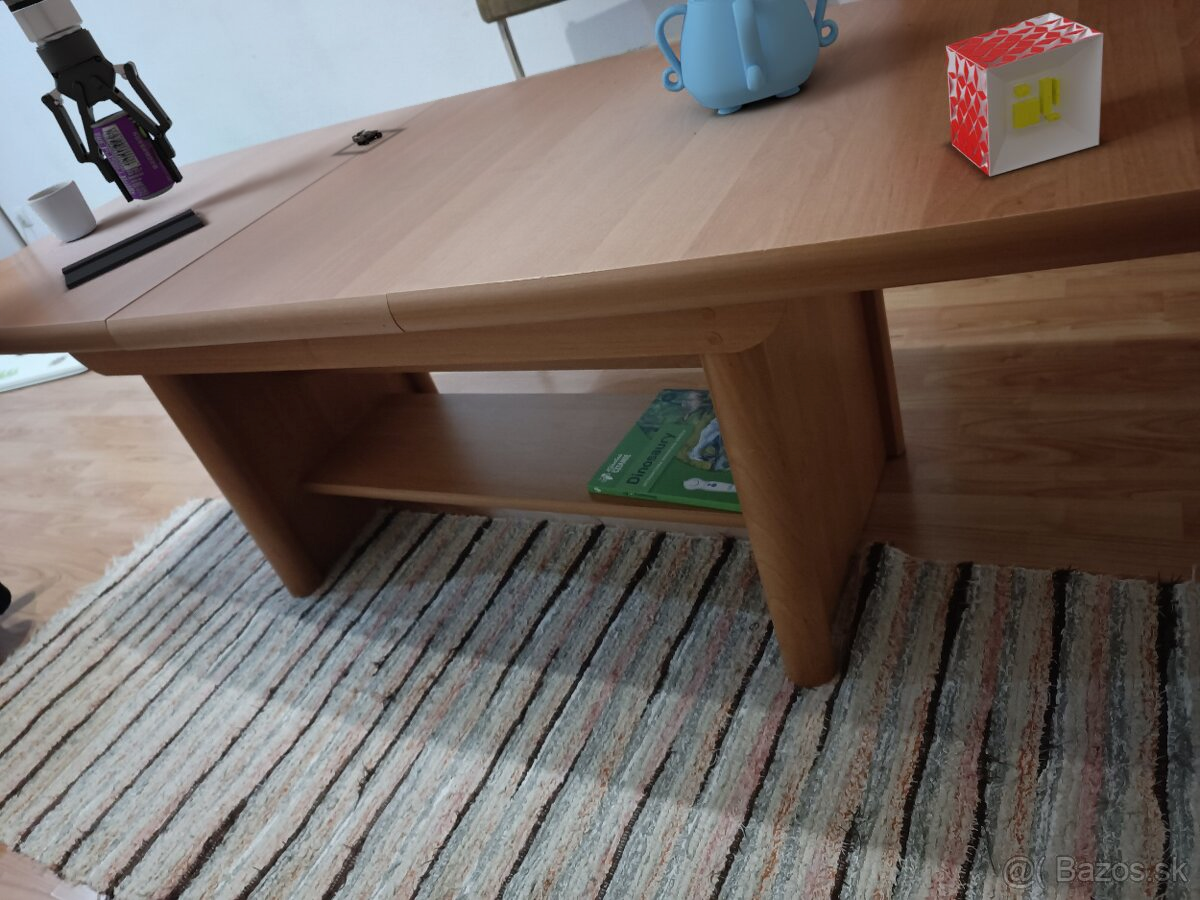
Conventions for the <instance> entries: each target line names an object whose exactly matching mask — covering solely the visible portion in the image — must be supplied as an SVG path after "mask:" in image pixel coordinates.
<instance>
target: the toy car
mask: <svg viewBox="0 0 1200 900" xmlns="http://www.w3.org/2000/svg"><path fill="white" fill-rule="evenodd" d="M382 137H383V132H381V131H379V129H375V130H374V129H373V130H371V129H367V130H366V129H365V128H364V129H361V130H360V131H358V132H357V133H356V134H354V135H352V136H351V139H352V142H353V143H356V145H357V146H359V147H360V146H361V147H362V146H369V145H370V144H371V143H372V142H373V141H375V140H378V139H381V138H382Z"/></svg>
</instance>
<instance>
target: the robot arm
mask: <svg viewBox="0 0 1200 900" xmlns="http://www.w3.org/2000/svg"><path fill="white" fill-rule="evenodd" d="M2 1H3V2H4V4H5V5H6V6H7V9H8V11H9V12H10V13H11V14H12V16H13V18H14V19H15V21H16V22H17V24H18V26H19V27H20V28H21V30H22V32H23V33H24V35H25V37H26V38H27V39H28V42H30V43H33V44H34V43H35V44H36V45H37V46H36V47H35V49H36V50H35V52H36V54H37V56H38V57H39V58H40V60H41V61H42V63H43V64H44V66H45V67H46V69H47V70H48V72H49V74H50V75H51V77H52V78H53V81H54V87H55V88H53V89H52V90H51V91H49V92H46V93H45V94H43V95H42V96H41V97H40V100H41V101H40V102H41V103H42V104H43V105H44V106H45V107H46V108H47V109H48V110H49V111H50V112H51V113H52V115H53V117H54V119H55V120H56V122H57V124H58V126H59V128H60V130H61V132H62V134H63V136H64V138H65V140H66V141H67V143H68V145H69V147H70V149H71V152H72V153H73V155H74V157H75V159H76V161H77V162H78V163H79V164H87V163H88V164H90V163H91V164H94V165H95V166H96V167H97V169H98V171H99V173H101V175H102V177H103V178H104V180H105V181H106V182H107V183H108V184H111V183H115V185H116V186H117V188H118V190H119V191H120V192H121V194H122V196H123V197H124V199H125V200H126V202H127V203H132V202H134V200H135V199H133V198H132V196H131V195H130V193H129V192H128V190H127V189H126V187H125V185H124V184H123V182H122V181H121V179H120V178H119V176H118V175H117V173H116V171H115V170H114V168H113V167H112V165H111V164H110V162H109V161H108V159H107V158H106V157H105V154H104V153H103V151H102V150H101V148H100V147H99V145H98V144H97V142H96V140H95V138H94V131H93V128H91V125H94V124H95V121H96V118H95V114H94V106H95V105H97V104H98V103H100V102H106V101H110V102H112V103H113V104H114V105H116V106H118V107H119V108H120V109H121V110H124V111H125V112H126V111H127V112H128V115H129V116H130V117H132V118H133V119H134V120H135V121H137V122H138V124H140V125H141V126H142V127H143V128H144V129H145V130H146V131H148V132H149V134H150V136H151V137H152V138H153V141H152V142H151V143H152V145H153V146H154V148H155V149H156V151H157V153H158V154H159V156H160V158H161V159H162V161H163V163H164V164H165V166H166V167H167V169H168V171H169V172H170V174H171V176H172V177H173V179H174V181H175V184H179V183H181V182H182V181H183V179H184V177H183V175H182V173H181V171H180V169H179V168H178V166H177V165H176V163H175V162H174V160H173V159H174V158H176V156H177V153H176V151H175V149H174V147H173V145H172V144H171V142H170V140H169V139H168V137H167V132H168V131H169V130H170V129H171V128H172V126H173V123H174V122H173V121H172V119H171V118H170V116H169V115H168V114H167V112H166V111H165V110H164V108H163V107H162V106H161V104H160V102H158V100H157V99H156V98H155V96H154V95H153V94H152V92H151V90H150V89H149V88H148V87H147V85H146V84H145V83H144V81H143V80H142V78H141V77H140V75H139V72H138V69H137V66H136V64H135V62H134V61H131V60H129V61H127V62H124V63H118V64H117V63H116V64H114V63H112V62H111V61H109V60H108V58H106V57H105V55H104V53H103V51H102V50H101V48H100V47H99V45H98V43H97V42H96V40H95V39H94V36H93V35H92V33H91V32H90V31H89V29H87V28H85V27H84V28H83V27H82V24H83V22H84V20H83V19H82V17H81V15H80V14H79V12H78V10H77V9H76V7H75V5H74V4H73V2H72V0H0V2H2ZM117 74H118V75H119V76H120V77H121V78H122V79H123V80H125V81H127V82H128V84H129V85H130V87H131V88H132V89H133V91H134V92H135V94H136V95H137V96H138V98H139V99H140V101H142V103H143V104H144V105H145V107H146V108H147V109H148V111H149V112H150V113H151V115H152V116H153V117H154V119H155V120H156V122H157V123H156V122H155V121H154V119H153V118H151V117H150V116H148V114H146V113H145V112H144V111H143V110H142V109H141V108H140V107H139V106H137V104H135V102H133V101H131V99H130V98H129V97H128V96H127V95H125V93H124V92H123V91H122V90H120V88H118V87H117V86H116V80H117V79H116V78H117ZM63 96H65V97H67V98H68V99H70V100H72V101H73V102H76V107H77V111H78V114H79V116H80V119H81V123H82V127H83V131H84V135H85V139H86V140H85V141H86V144H87V147H88V149H87V148H86V146H85V144H84V142H83V140H82V138H81V136H80V134H79V133H78V130H77V129H76V126H75V125H74V122H73V120H72V119H71V117H70V114H69V113H68V110H67V108H66V107H65V106H64V103H65V101H64V98H63Z"/></svg>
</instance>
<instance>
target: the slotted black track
mask: <svg viewBox="0 0 1200 900" xmlns="http://www.w3.org/2000/svg"><path fill="white" fill-rule="evenodd" d="M203 227H205V224H204V222H203V221H202V220H201V219H200V218H199V217H198V215H197V214H196V212H195V211H194V210H193V209H192V208H188V209H187V210H184V211H182V212H180V213H177V214H175V215H173V216H172V217H169V218H166V219H165V220H162V221H161V222H158V223H157V224H154V225H152V226H150V227H147V228H145V229H143V230H141V231H139V232H137V233H135V234H133V235H131V236H129V237H126V238H124V239H122V240H120V241H118V242H115V243H114V244H111V245H109V246H107V247H105V248H102V249H100V250H98V251H96V252H94V253H92V254H90V255H88V256H85V257H84V258H81V259H79V260H77V261H75V262H73V263H71V264H67V265H66V266H64V267H62V268H61V273H62V275H64V282H65V287H66V288H67V290H69V291H70V290H72V289H74V288H77V287H78V286H81V285H82V284H85V283H87V282H89V281H91V280H93V279H95V278H97V277H99V276H102V275H103V274H105V273H108V272H109V271H112V270H114V269H116V268H118V267H120V266H123V265H124V264H126V263H129V262H130V261H133V260H135V259H137V258H139V257H141V256H143V255H145V254H148V253H150V252H152V251H155V250H156V249H158V248H160V247H163V246H165V245H167V244H169V243H171V242H173V241H175V240H177V239H179V238H182V237H184V236H186V235H188V234H190V233H192V232H195V231H196V230H198V229H200V228H203Z"/></svg>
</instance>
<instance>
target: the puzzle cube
mask: <svg viewBox="0 0 1200 900" xmlns="http://www.w3.org/2000/svg"><path fill="white" fill-rule="evenodd" d="M1104 36H1105V35H1104V32H1102V31H1098V30H1096V29H1093V28H1091V27H1088V26H1086V25H1083V24H1081V23H1079V22H1076V21H1074V20H1071V19H1068V18H1066V17H1064V16H1062V15H1059V14H1056V13H1054V12H1048V13H1046V14H1042V15H1039V16H1035V17H1032V18H1030V19H1026V20H1023V21H1019V22H1016V23H1014V24H1011V25H1008V26H1007V25H1006V26H1004V27H1001V28H998V29H995V30H992V31H988V32H985V33H982V34H979V35H975V36H973V37H969V38H965V39H963V40H960V41H957V42H954V43H950V44H948V45H945V49H946V50H945V52H946V53H945V54H946V55H945V56H946V71H947V83H948V85H947V86H948V100H949V116H950V135H951V145H952V146H953V147H955V149H957V150H958V151H959V152H960V153H961V154H962V155H964V156H965V157H966V158H967V159H968V160H970V161H971V162H972V163H973V164H974V165H976V166H977V167H978V168H979V169H980V170H981V171H982V172H983V173H984V174H986V175H987V176H988V177H993V176H997V175H1000V174H1003V173H1007V172H1010V171H1015V170H1017V169H1021V168H1024V167H1027V166H1031V165H1035V164H1037V163H1042V162H1045V161H1048V160H1051V159H1054V158H1059V157H1062V156H1065V155H1068V154H1072V153H1076V152H1079V151H1082V150H1086V149H1089V148H1093V147H1096V146H1100V135H1101V111H1102V109H1101V108H1102V87H1103V86H1102V85H1103V58H1104V57H1103V56H1104Z"/></svg>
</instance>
